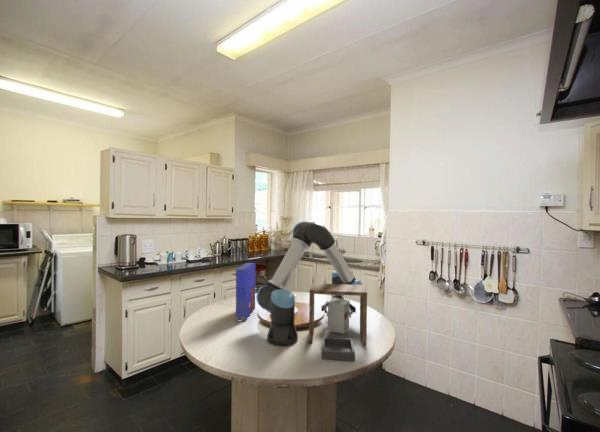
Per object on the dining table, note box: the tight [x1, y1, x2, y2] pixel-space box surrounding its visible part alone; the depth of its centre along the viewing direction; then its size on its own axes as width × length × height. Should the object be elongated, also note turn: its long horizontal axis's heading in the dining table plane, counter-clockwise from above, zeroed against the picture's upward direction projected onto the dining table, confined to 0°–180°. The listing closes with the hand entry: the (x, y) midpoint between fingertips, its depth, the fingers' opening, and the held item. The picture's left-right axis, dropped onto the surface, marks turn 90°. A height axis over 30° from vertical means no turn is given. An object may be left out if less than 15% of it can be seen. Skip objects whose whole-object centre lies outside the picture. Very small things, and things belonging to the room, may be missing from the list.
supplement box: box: [327, 298, 350, 335], centre depth 148 cm, size 9×9×15 cm
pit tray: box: [321, 336, 356, 362], centre depth 127 cm, size 14×14×4 cm
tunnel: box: [308, 282, 368, 347], centre depth 142 cm, size 27×14×26 cm, turn 84°
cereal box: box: [235, 262, 256, 322], centre depth 174 cm, size 22×6×30 cm, turn 175°
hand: (338, 314), depth 146 cm, fingers closed on supplement box, 11 cm apart
